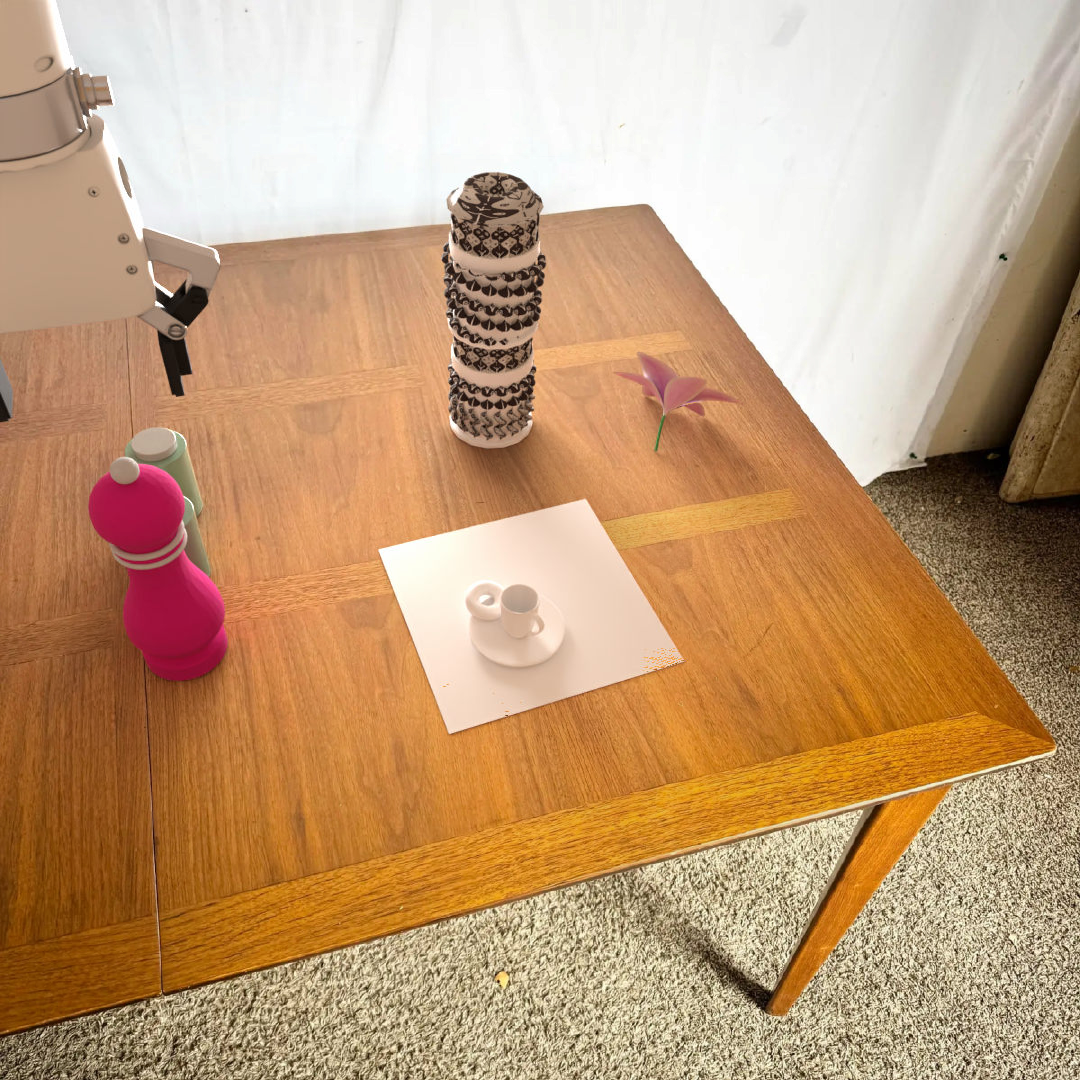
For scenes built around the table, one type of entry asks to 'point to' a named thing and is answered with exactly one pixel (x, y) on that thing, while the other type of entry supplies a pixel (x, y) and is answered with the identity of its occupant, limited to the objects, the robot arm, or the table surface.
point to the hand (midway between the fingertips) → (93, 394)
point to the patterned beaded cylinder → (493, 307)
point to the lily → (673, 388)
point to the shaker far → (167, 459)
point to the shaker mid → (195, 540)
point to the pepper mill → (159, 571)
